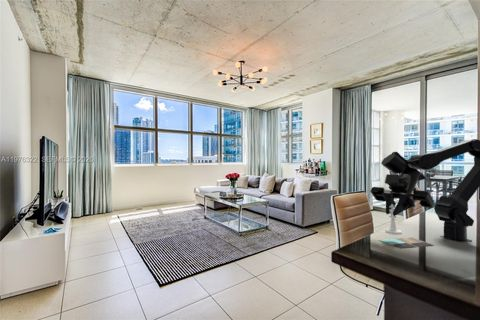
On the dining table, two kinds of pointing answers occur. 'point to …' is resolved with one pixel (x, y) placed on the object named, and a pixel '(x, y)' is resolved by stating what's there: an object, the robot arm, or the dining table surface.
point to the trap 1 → (404, 245)
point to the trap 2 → (421, 244)
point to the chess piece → (393, 223)
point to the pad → (393, 241)
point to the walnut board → (409, 242)
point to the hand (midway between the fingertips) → (390, 214)
